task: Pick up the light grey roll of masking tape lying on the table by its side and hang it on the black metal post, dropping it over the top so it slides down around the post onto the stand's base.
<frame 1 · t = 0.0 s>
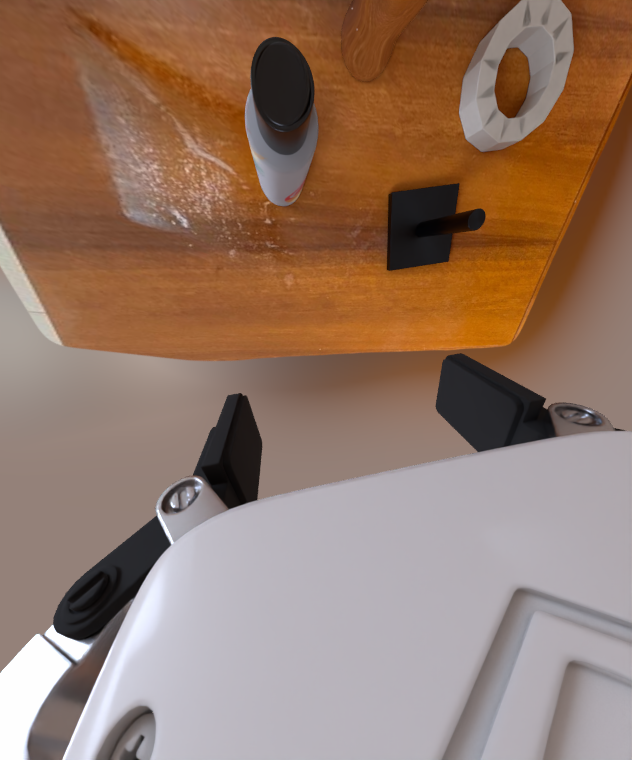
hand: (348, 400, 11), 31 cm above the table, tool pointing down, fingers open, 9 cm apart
lotion bottle: (281, 181, 31), on the table
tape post: (418, 230, 36), on the table
tape roll: (502, 91, 29), on the table
beer glass: (366, 43, 26), on the table
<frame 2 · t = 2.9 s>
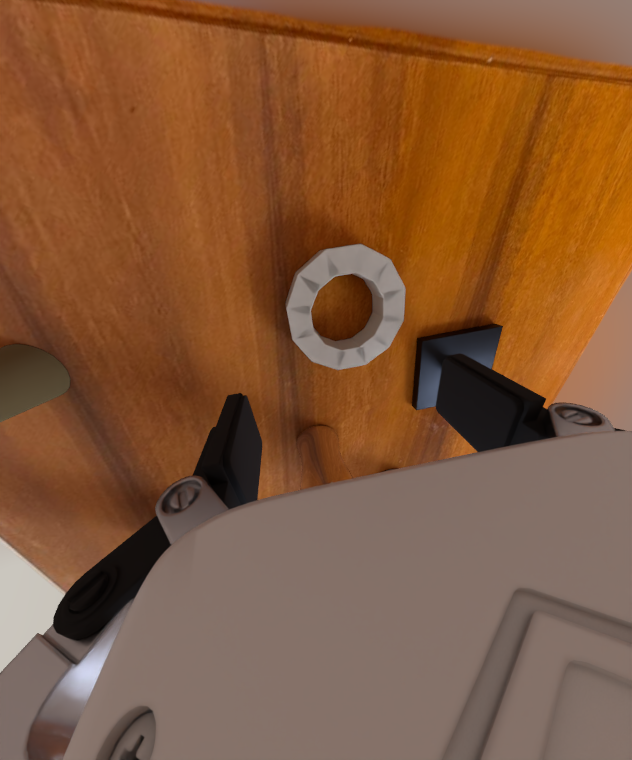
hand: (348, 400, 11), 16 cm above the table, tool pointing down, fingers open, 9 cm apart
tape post: (450, 367, 30), on the table
tape roll: (340, 308, 25), on the table
beer glass: (317, 440, 33), on the table
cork: (35, 371, 23), on the table
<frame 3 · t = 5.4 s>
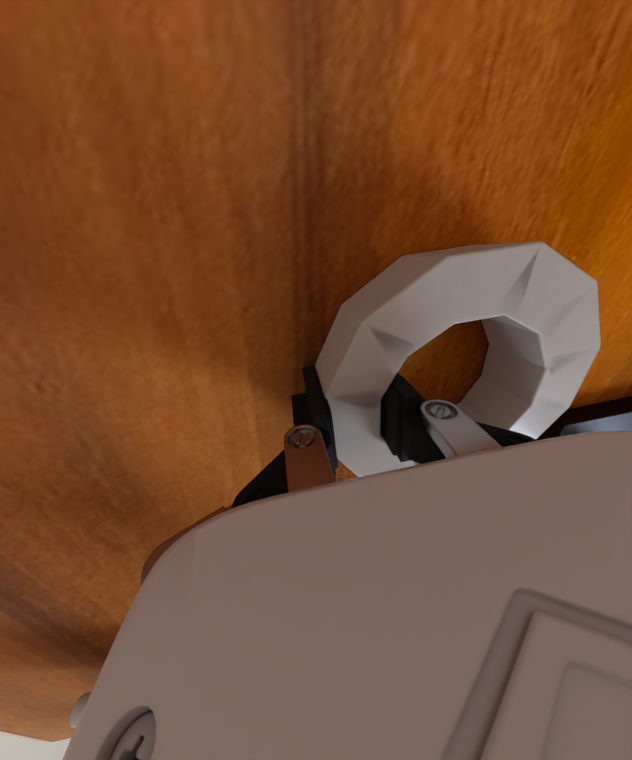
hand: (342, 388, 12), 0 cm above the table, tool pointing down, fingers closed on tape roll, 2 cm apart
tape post: (581, 452, 18), on the table
tape roll: (422, 371, 12), on the table, touching gripper
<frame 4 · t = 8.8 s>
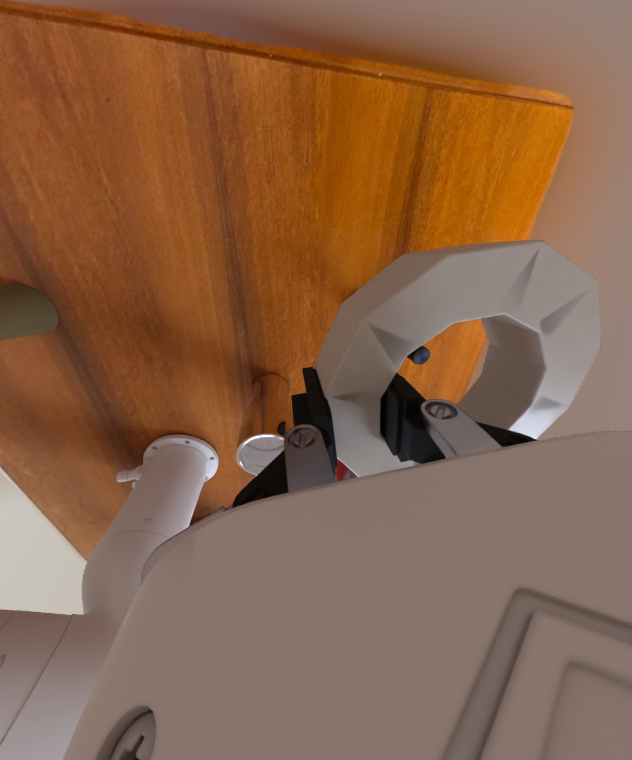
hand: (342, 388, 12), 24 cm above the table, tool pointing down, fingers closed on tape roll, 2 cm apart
lotion bottle: (338, 430, 46), on the table
tape roll: (422, 370, 12), point 24 cm above the table, touching gripper
beer glass: (270, 388, 39), on the table
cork: (30, 309, 29), on the table
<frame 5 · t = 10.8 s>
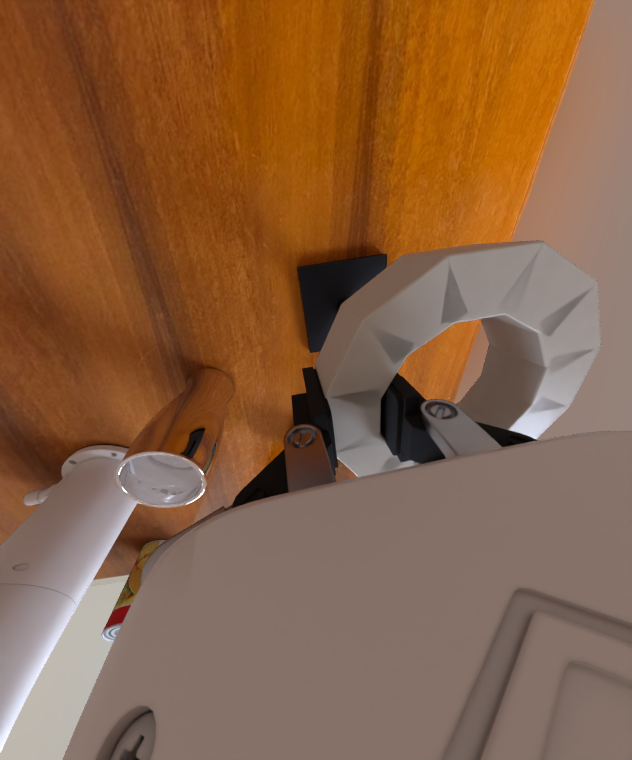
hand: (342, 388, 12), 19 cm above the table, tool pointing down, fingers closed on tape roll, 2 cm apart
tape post: (343, 305, 28), on the table
tape roll: (422, 371, 12), point 18 cm above the table, touching gripper
canned food: (164, 549, 47), on the table
beer glass: (211, 386, 31), on the table
when the fingers open (15 cm above the table, at t = 12.5 s): tape roll drops 13 cm, resting on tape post.
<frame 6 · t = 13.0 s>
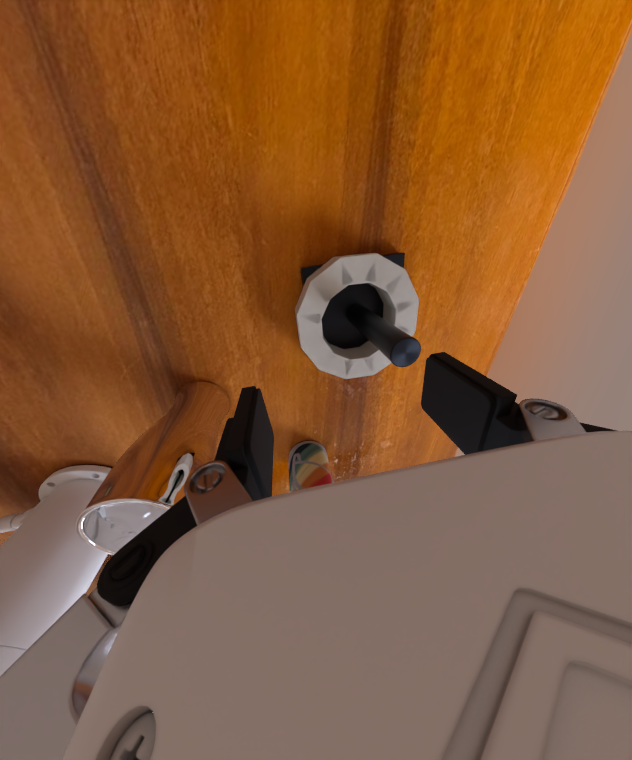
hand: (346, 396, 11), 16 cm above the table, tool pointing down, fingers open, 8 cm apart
lotion bottle: (307, 452, 34), on the table
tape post: (352, 311, 25), on the table
tape roll: (350, 316, 24), point 1 cm above the table, touching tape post
beer glass: (204, 401, 28), on the table
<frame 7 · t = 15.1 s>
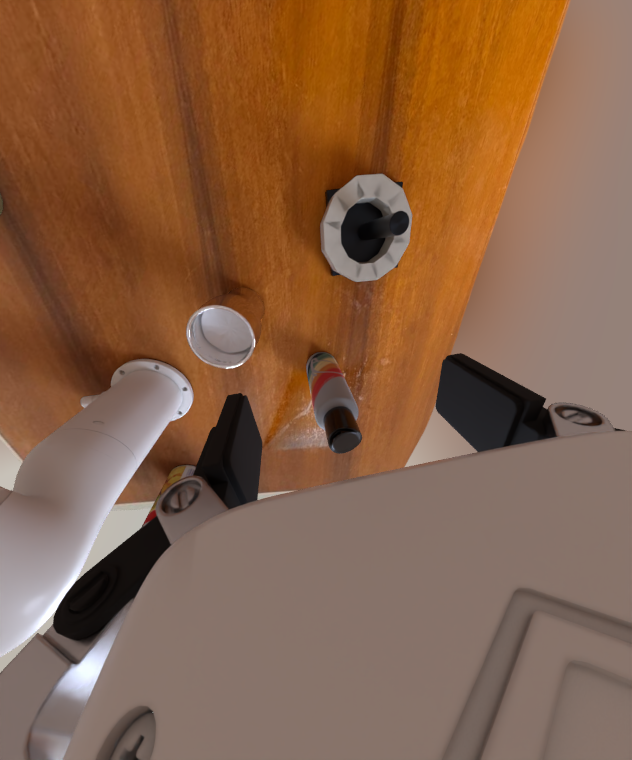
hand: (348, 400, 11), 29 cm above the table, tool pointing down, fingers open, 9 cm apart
lotion bottle: (321, 365, 42), on the table
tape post: (362, 232, 33), on the table
tape roll: (361, 234, 32), point 1 cm above the table, touching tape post
canned food: (188, 476, 52), on the table
beer glass: (244, 307, 36), on the table
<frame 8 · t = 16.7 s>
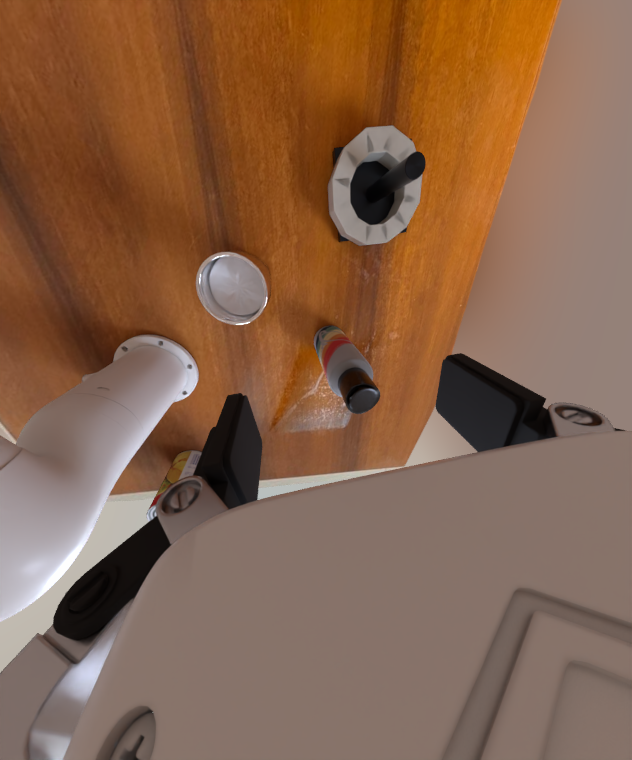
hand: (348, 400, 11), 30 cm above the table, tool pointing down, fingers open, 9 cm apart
lotion bottle: (328, 339, 41), on the table
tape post: (370, 195, 32), on the table
tape roll: (369, 196, 31), point 1 cm above the table, touching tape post
canned food: (194, 462, 51), on the table
beer glass: (250, 277, 35), on the table
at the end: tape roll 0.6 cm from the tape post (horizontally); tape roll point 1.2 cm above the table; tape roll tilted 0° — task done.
